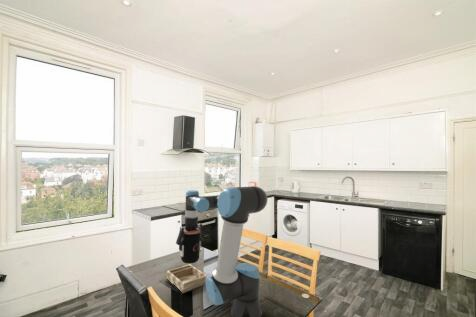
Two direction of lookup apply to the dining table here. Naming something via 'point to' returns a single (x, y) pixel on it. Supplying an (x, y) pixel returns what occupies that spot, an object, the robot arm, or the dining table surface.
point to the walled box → (186, 278)
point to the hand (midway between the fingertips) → (190, 253)
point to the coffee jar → (191, 246)
